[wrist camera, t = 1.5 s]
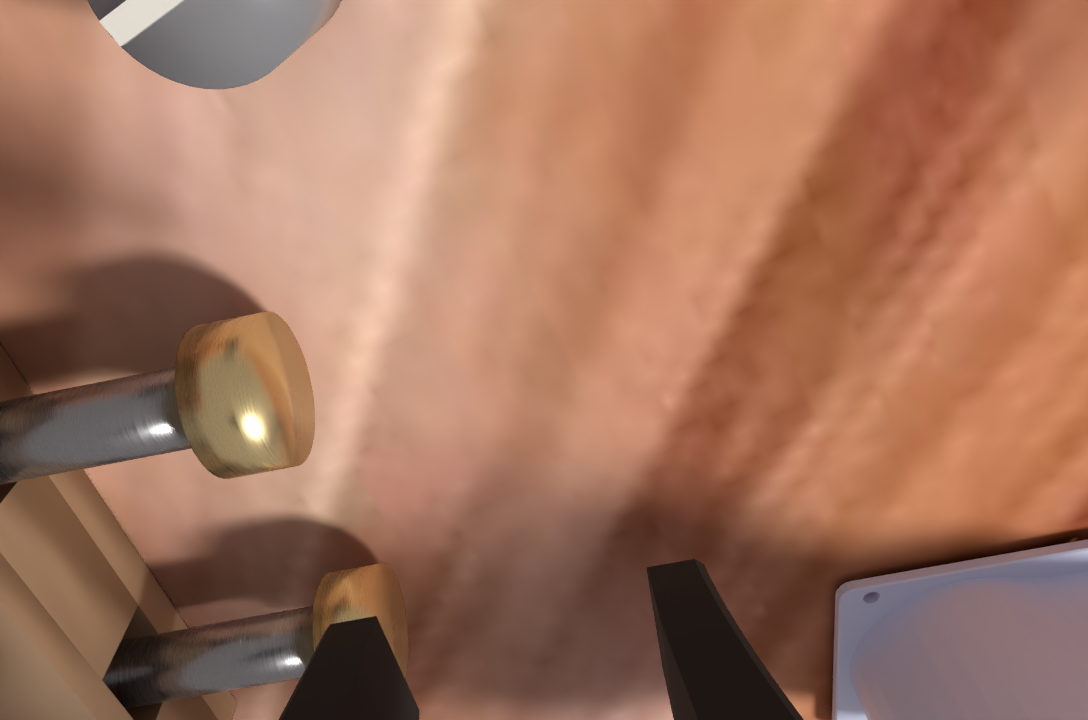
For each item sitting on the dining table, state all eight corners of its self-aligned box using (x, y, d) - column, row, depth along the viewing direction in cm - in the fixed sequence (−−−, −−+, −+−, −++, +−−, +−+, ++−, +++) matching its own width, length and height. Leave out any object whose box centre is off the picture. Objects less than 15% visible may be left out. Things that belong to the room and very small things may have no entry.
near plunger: (273, 284, 17) (231, 365, 14) (324, 405, 19) (295, 499, 16) (-65, 352, 18) (-173, 444, 15) (16, 464, 19) (-66, 566, 17)
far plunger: (379, 537, 22) (362, 639, 19) (412, 616, 23) (402, 720, 20) (104, 587, 22) (46, 694, 19) (158, 662, 24) (113, 770, 21)
